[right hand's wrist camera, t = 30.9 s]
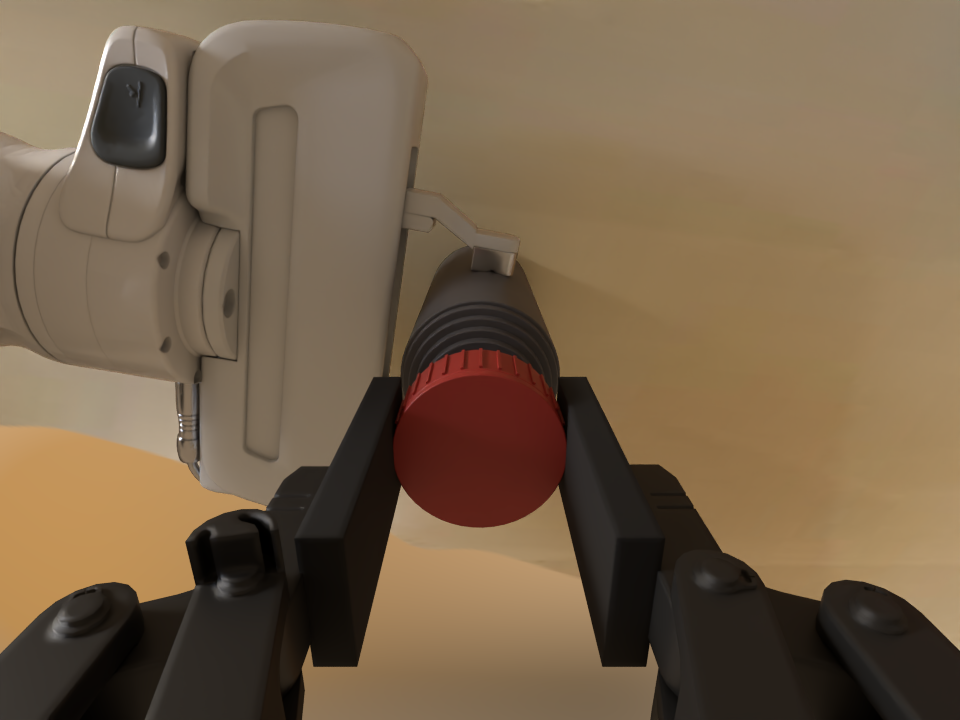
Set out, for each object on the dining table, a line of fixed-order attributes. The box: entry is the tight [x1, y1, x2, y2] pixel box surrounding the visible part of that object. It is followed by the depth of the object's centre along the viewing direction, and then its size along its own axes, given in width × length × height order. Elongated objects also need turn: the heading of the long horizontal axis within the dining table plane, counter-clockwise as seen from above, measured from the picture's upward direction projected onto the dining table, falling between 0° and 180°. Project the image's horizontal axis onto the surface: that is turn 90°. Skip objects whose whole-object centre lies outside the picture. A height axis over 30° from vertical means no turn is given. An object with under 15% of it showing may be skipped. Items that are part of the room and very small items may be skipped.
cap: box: [393, 348, 567, 528], centre depth 14 cm, size 4×4×2 cm
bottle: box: [401, 246, 560, 398], centre depth 21 cm, size 5×5×16 cm
